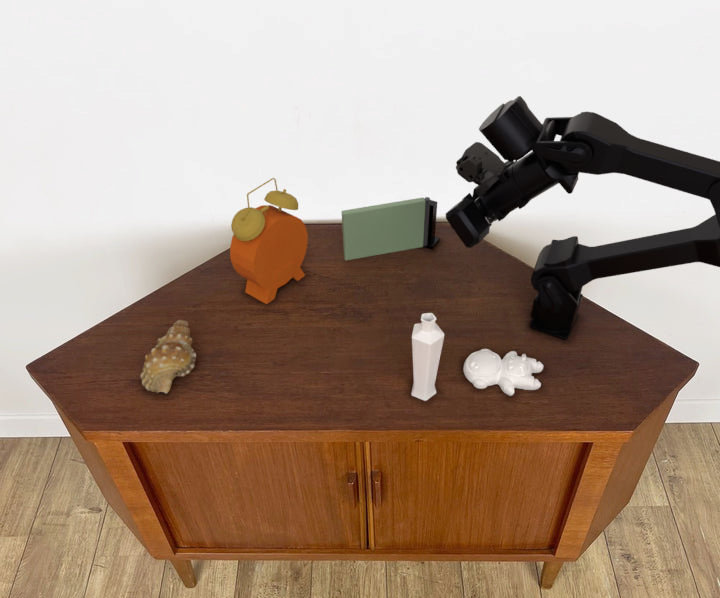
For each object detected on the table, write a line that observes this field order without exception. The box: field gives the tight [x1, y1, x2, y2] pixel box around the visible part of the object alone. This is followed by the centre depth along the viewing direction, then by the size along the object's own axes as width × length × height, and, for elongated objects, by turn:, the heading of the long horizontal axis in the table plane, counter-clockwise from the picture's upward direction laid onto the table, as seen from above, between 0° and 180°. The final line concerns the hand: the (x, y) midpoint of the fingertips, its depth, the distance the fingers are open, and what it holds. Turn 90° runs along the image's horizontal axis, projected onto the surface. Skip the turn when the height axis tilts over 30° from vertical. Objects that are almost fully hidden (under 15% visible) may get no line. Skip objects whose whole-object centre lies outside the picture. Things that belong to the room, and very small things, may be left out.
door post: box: [422, 199, 440, 251], centre depth 124 cm, size 3×3×9 cm
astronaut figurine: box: [462, 348, 544, 397], centre depth 102 cm, size 9×12×3 cm
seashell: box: [140, 319, 197, 395], centre depth 104 cm, size 9×8×10 cm
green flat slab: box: [341, 196, 431, 262], centre depth 121 cm, size 16×3×10 cm, turn 104°
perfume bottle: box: [410, 312, 445, 402], centre depth 96 cm, size 5×4×15 cm
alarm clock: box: [229, 177, 309, 305], centre depth 113 cm, size 13×6×20 cm, turn 141°
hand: (452, 225), depth 108 cm, fingers closed
